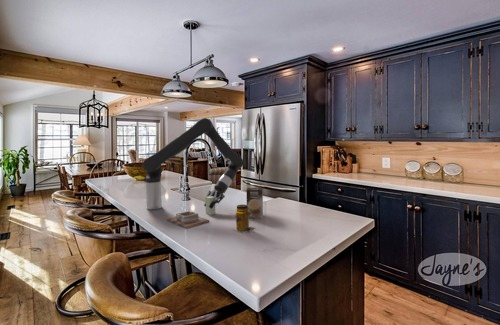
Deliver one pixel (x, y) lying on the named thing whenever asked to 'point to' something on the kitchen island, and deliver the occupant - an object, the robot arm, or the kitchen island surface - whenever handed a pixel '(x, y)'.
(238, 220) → the condiment
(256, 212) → the coffee box
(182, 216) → the board
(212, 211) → the post
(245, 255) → the kitchen island surface
